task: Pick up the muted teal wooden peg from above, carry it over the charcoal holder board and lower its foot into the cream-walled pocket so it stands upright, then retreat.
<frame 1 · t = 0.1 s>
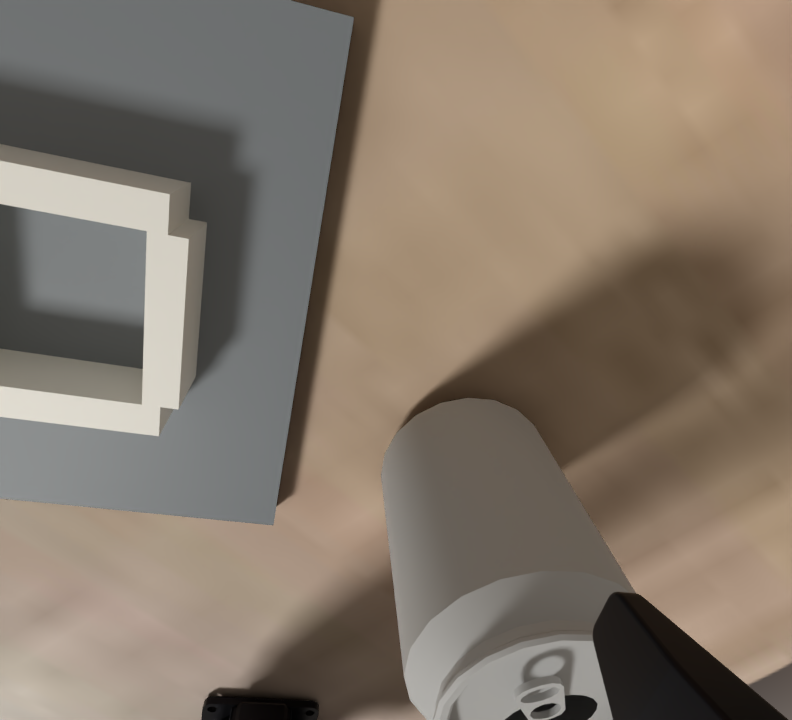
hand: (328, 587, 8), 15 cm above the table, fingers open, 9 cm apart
holder: (91, 273, 20), on the table
can: (458, 455, 25), on the table
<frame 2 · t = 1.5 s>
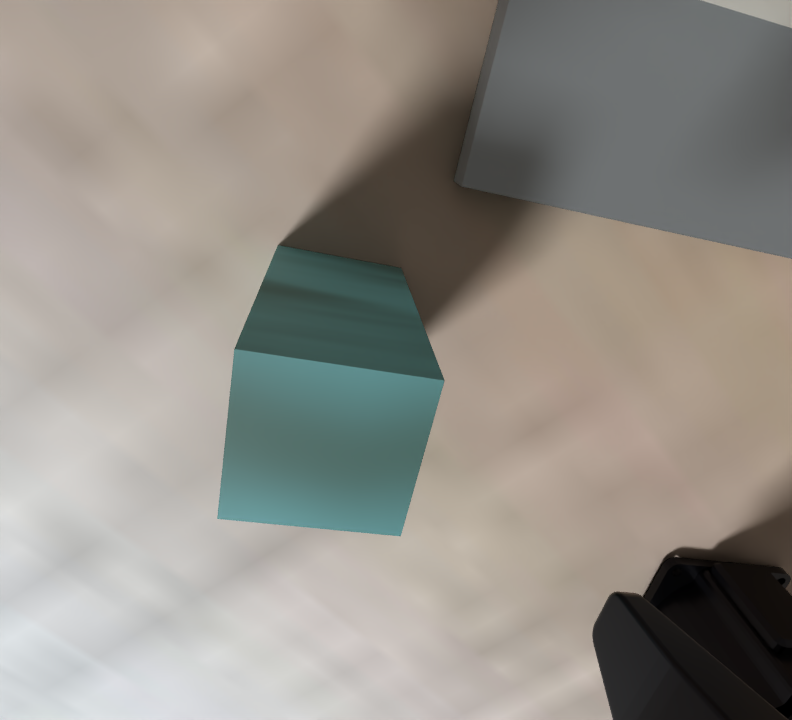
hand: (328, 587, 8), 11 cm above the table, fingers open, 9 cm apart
peg: (330, 314, 18), on the table
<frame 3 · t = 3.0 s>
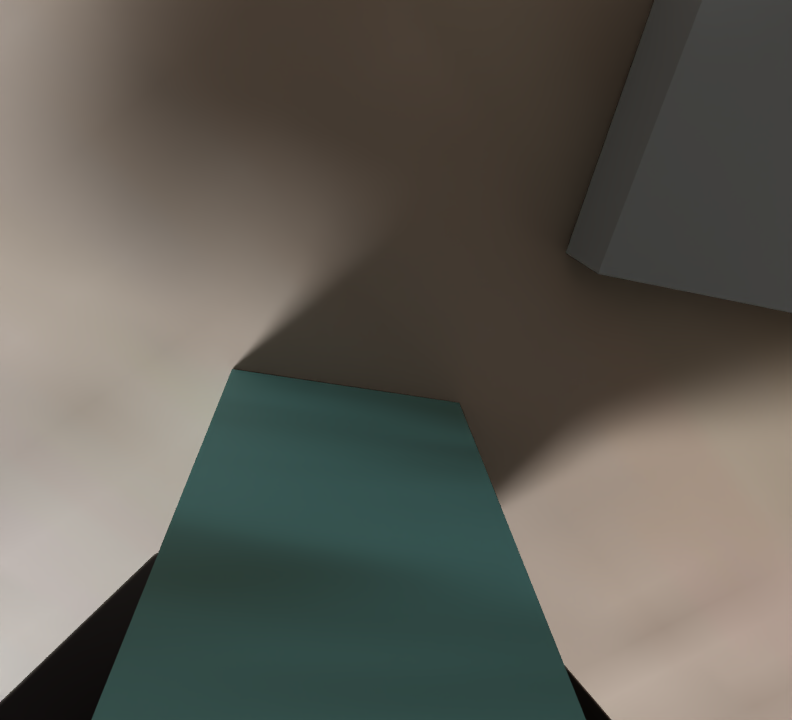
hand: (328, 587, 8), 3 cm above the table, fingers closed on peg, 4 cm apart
peg: (330, 478, 10), on the table, touching gripper
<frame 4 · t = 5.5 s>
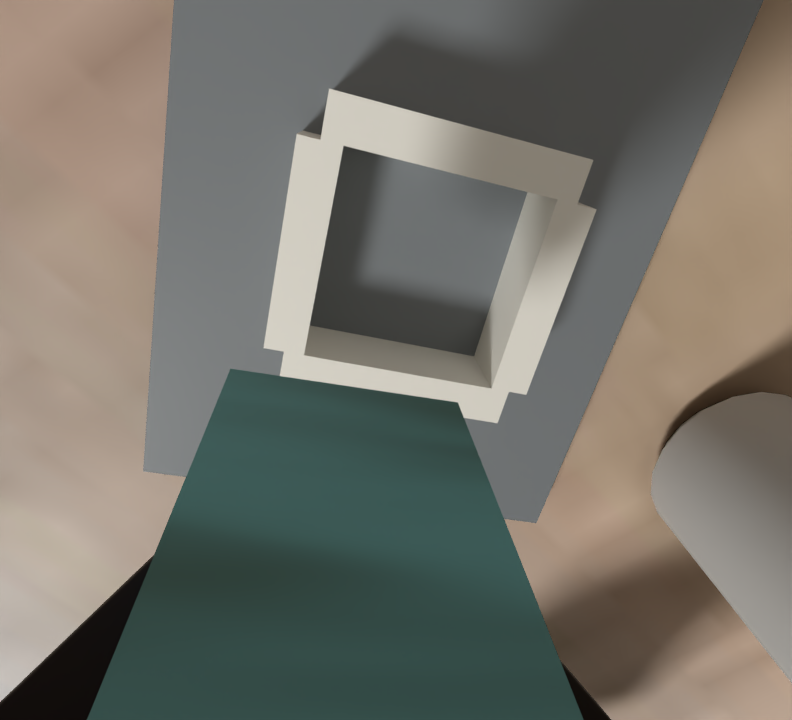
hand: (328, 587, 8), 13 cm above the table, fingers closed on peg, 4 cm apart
holder: (410, 250, 19), on the table
can: (719, 453, 24), on the table
peg: (329, 478, 10), point 10 cm above the table, touching gripper
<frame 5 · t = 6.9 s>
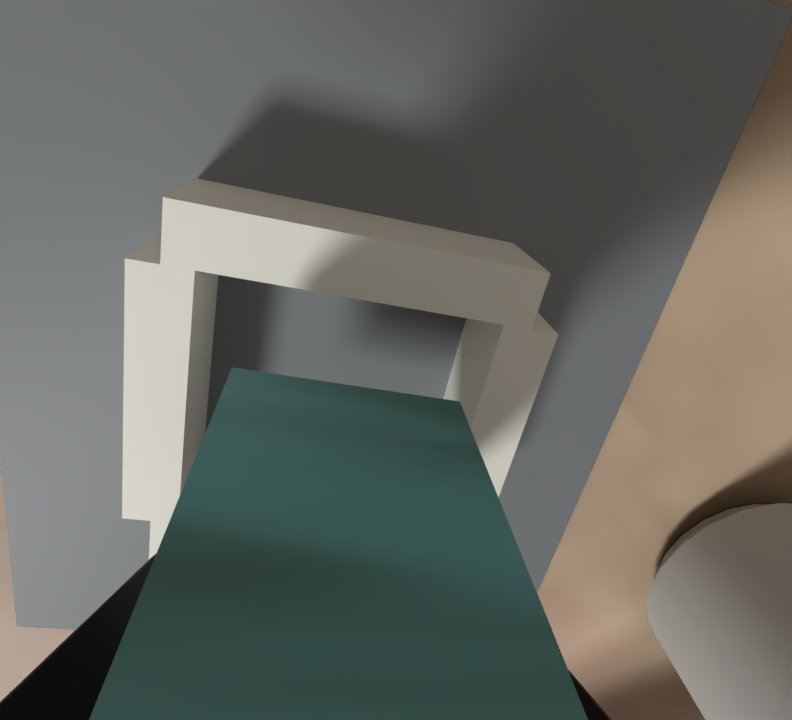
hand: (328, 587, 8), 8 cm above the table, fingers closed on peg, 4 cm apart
holder: (333, 356, 15), on the table
can: (728, 561, 20), on the table
peg: (330, 477, 10), point 5 cm above the table, touching gripper
when the fingers open (5 cm above the table, at t = 7.9 s): peg drops 1 cm, resting on holder.
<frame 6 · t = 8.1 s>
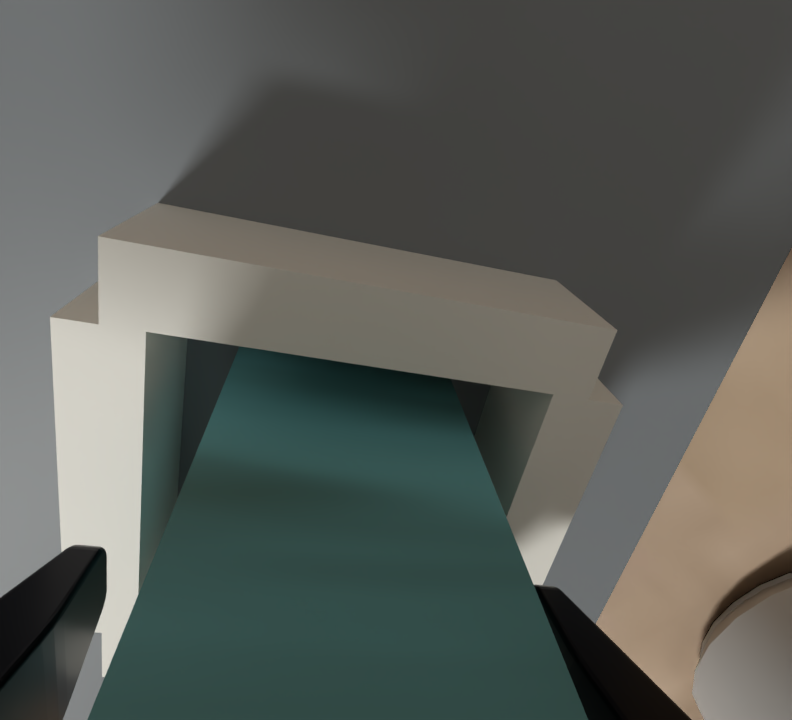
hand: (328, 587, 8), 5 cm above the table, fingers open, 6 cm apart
holder: (332, 410, 12), on the table
can: (783, 628, 18), on the table
peg: (332, 440, 11), point 1 cm above the table, touching holder
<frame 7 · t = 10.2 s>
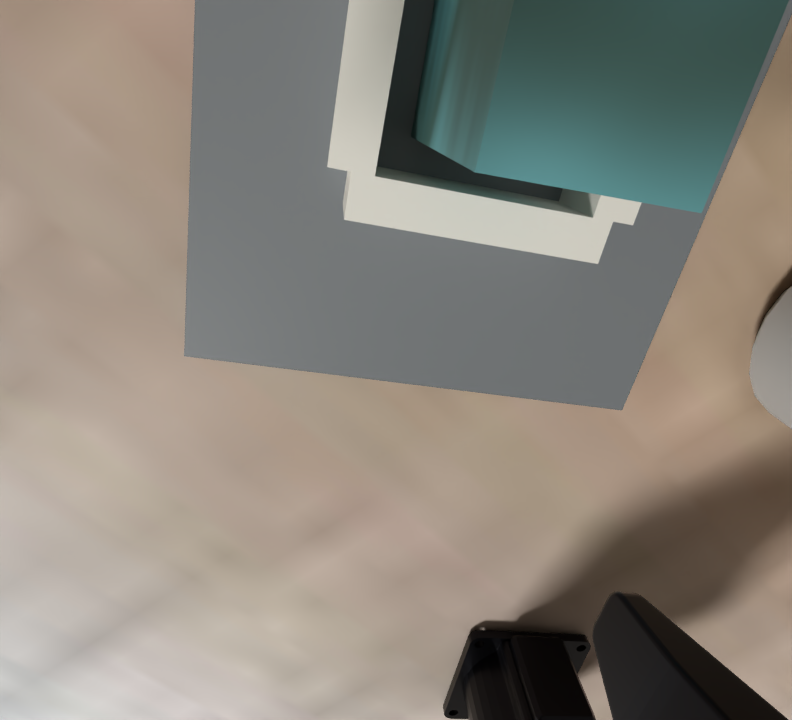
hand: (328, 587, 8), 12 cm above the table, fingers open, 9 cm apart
holder: (482, 74, 16), on the table
peg: (493, 73, 15), point 1 cm above the table, touching holder
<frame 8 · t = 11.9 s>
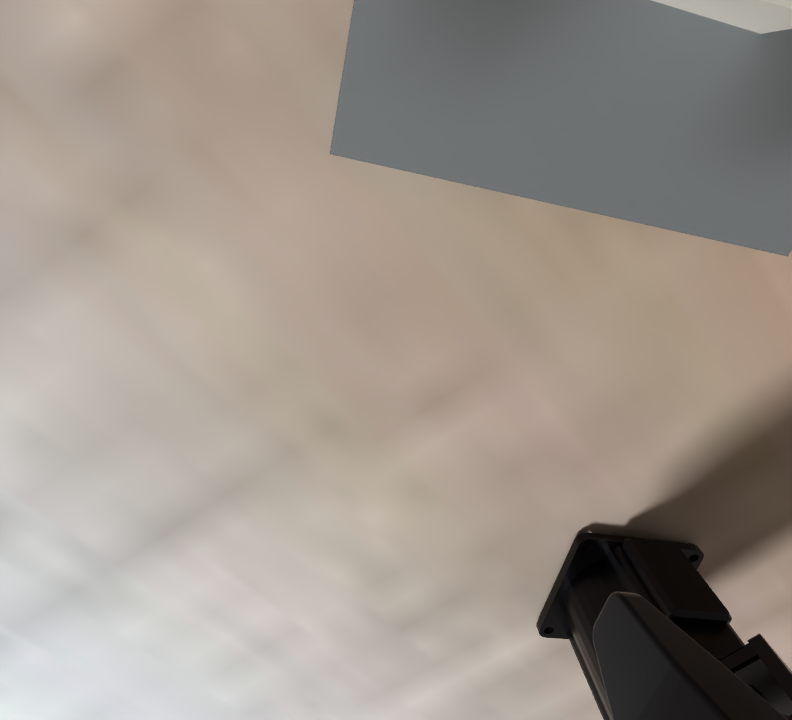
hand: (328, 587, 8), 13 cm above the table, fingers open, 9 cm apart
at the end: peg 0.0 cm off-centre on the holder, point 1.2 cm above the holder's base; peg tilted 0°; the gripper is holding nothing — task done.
